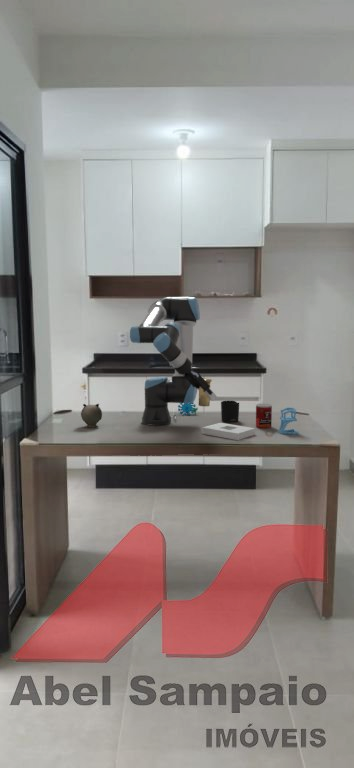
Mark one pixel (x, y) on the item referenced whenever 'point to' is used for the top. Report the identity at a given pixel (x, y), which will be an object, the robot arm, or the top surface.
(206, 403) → the brass ball knob
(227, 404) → the pen holder
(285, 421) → the chair
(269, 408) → the canned food
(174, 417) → the top surface
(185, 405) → the gear
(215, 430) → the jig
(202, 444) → the top surface
